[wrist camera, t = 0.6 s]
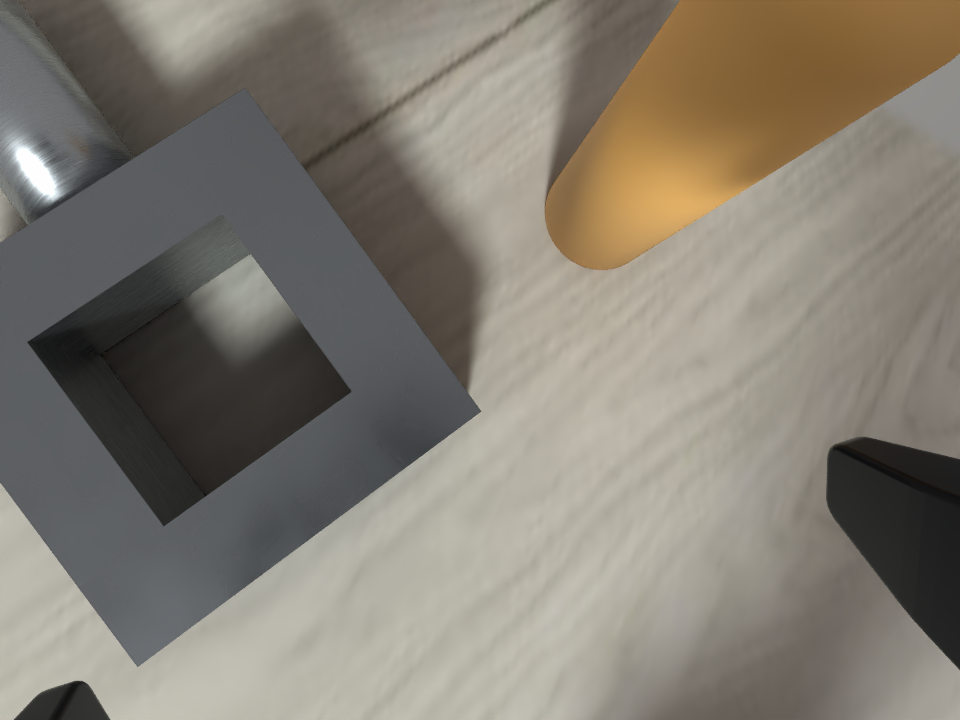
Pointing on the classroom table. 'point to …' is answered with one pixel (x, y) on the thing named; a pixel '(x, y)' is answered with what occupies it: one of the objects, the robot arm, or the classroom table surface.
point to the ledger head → (146, 294)
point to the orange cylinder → (733, 110)
